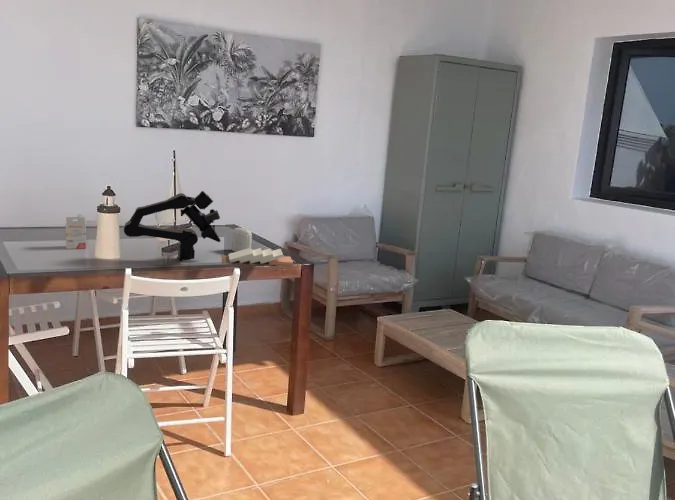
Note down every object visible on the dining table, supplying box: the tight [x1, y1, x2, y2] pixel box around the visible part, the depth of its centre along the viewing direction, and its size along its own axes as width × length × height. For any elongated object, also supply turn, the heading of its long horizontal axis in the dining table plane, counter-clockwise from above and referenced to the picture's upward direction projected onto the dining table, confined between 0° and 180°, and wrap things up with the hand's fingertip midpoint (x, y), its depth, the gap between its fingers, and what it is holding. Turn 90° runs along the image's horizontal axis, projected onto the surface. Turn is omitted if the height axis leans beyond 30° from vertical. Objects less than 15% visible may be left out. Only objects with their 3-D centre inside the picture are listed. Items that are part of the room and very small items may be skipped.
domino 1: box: [228, 247, 254, 263], centre depth 318 cm, size 2×10×11 cm
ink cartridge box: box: [65, 216, 87, 250], centre depth 313 cm, size 9×5×15 cm, turn 112°
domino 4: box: [260, 248, 284, 264], centre depth 321 cm, size 2×10×11 cm
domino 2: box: [239, 247, 264, 263], centre depth 319 cm, size 2×10×11 cm
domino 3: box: [250, 248, 274, 264], centre depth 320 cm, size 2×10×11 cm
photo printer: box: [231, 227, 253, 252], centre depth 332 cm, size 10×4×12 cm, turn 56°
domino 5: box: [268, 255, 294, 266], centre depth 322 cm, size 2×10×11 cm
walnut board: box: [221, 255, 276, 267], centre depth 319 cm, size 24×14×1 cm, turn 102°
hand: (219, 241), depth 314 cm, fingers closed
